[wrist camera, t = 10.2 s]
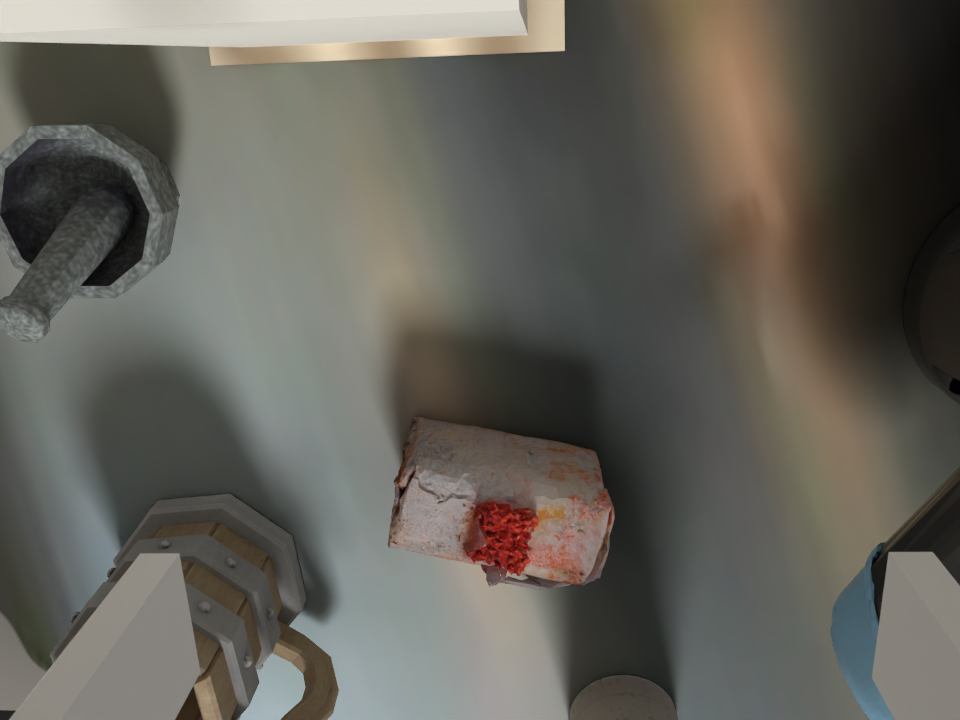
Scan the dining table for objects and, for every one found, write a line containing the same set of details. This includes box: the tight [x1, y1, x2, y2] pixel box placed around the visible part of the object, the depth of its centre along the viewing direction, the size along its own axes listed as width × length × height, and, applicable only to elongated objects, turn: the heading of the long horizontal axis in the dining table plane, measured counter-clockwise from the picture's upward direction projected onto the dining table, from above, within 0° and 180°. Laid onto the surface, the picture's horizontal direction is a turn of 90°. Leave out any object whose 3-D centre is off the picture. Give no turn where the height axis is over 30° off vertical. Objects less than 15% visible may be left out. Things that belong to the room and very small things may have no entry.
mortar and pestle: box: [0, 123, 180, 343], centre depth 48 cm, size 11×9×12 cm
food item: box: [388, 417, 615, 589], centre depth 54 cm, size 14×8×10 cm, turn 80°
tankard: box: [50, 494, 339, 720], centre depth 56 cm, size 20×13×15 cm, turn 53°
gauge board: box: [0, 0, 528, 47], centre depth 34 cm, size 16×2×28 cm, turn 92°
